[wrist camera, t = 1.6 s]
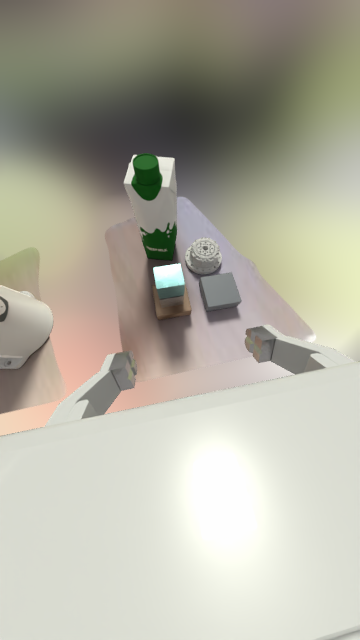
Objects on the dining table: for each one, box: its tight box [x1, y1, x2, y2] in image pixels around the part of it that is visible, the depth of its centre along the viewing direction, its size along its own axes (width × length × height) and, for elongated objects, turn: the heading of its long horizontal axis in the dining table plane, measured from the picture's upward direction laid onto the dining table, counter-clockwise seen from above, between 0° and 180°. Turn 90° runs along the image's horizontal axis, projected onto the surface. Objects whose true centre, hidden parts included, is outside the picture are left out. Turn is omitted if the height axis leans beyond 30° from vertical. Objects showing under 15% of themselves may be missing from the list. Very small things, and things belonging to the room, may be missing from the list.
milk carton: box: [124, 153, 177, 261], centre depth 32 cm, size 9×9×20 cm
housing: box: [153, 264, 185, 308], centre depth 30 cm, size 5×4×9 cm
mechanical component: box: [185, 237, 222, 274], centre depth 39 cm, size 10×4×10 cm
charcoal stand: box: [199, 272, 241, 312], centre depth 36 cm, size 8×8×3 cm
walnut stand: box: [152, 280, 191, 320], centre depth 36 cm, size 8×8×3 cm
